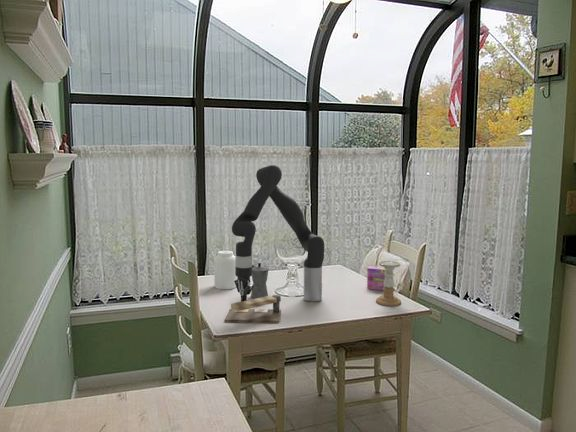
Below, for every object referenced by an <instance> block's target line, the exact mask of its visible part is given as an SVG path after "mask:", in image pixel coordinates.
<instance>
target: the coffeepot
mask: <svg viewBox="0 0 576 432" xmlns="http://www.w3.org/2000/svg"><path fill="white" fill-rule="evenodd" d="M257 265H258V266H257ZM257 265H255V264H252V276H251V280H252V285H253V289H252V291H251V293H250V298H252V299H256V298H261V297H266V296H269V292H268V288H267V281H268V274H269V268H268V267H266V266H262V263H261V262H258V263H257Z"/></svg>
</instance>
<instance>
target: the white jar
mask: <svg viewBox="0 0 576 432" xmlns="http://www.w3.org/2000/svg"><path fill="white" fill-rule="evenodd" d="M235 259H236V255H234V251H231V250H225V249H224V250H220V251H218V252H217V254H216V256H215V257H214V259H213V266H214V267H213V272H214V273H213V275H214V280H213V281H214V285H213V286H214V288H215V289H217V290H231V289H236V285H235V282H234V281H235V280H237V276H236V275H235Z"/></svg>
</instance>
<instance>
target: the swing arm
mask: <svg viewBox="0 0 576 432" xmlns="http://www.w3.org/2000/svg"><path fill="white" fill-rule="evenodd" d="M279 301H280V302H281V301H282V300H281V295H279V294H273V295H268V296H266V297H261V298H256V299H253V298H252V299H247V301H242V302H241V301H239V302H238V301H237V302H234V303H230V309H234V310H236V311H240V310H245V309H255V308H258V307H262V306H267V305H273V303H277V302H279Z"/></svg>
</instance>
